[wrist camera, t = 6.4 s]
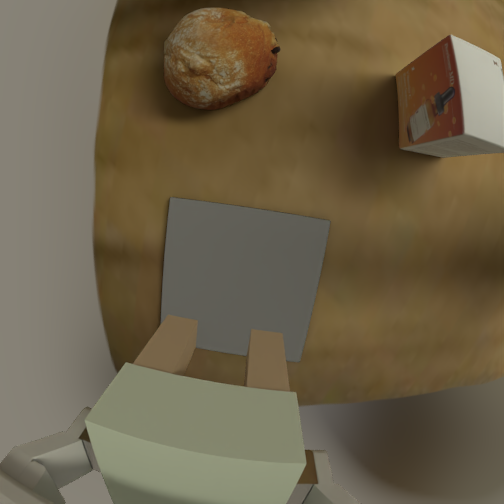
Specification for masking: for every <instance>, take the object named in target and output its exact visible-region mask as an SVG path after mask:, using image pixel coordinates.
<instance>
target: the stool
mask: <svg viewBox="0 0 504 504" xmlns="http://www.w3.org/2000/svg"><path fill="white" fill-rule="evenodd" d="M197 325H198V320H194V319H188V318H183V317H178V316H173V315H167V317H166V318H165V320H164V321H163V322H162V324H161V325H160V326H159V328H158V329H157V331H156V332H155V333H154V335H153V336H152V337H151V339H150V340H149V342H148V343H147V344H146V346H145V347H144V349H143V350H142V351H141V353H140V354H139V356H138V357H137V358H136V360H135V361H134V363H133V364H130V363H127V362H126V363H125V364H124V366H123V367H122V368H121V370H120V371H119V372H118V374H117V375H116V377H115V378H114V379H113V381H112V382H111V383H110V385H109V386H108V387H107V389H106V390H105V392H104V393H103V394H102V396H101V397H100V399H99V400H98V401H97V403H96V404H95V405H94V407H93V408H92V410H91V411H90V412H89V414H88V415H87V417H86V418H85V419H84V420H85V424H86V427H87V431H88V434H89V438H90V441H91V444H92V447H93V451H94V454H95V457H96V460H97V462H98V465H99V468H100V471H101V473H102V476H103V479H104V481H105V484H106V486H107V489H108V491H109V494H110V496H111V499H112V501H113V503H114V504H286V503H287V501H288V499H289V497H290V496H291V494H292V492H293V490H294V488H295V486H296V484H297V482H298V480H299V478H300V476H301V474H302V472H303V470H304V468H305V466H306V464H307V463H306V456H305V449H304V442H303V435H302V428H301V421H300V414H299V408H298V401H297V394H296V392H290V387H289V380H288V372H287V364H286V356H285V349H284V341H283V334H282V333H277V332H270V331H262V330H255V329H251V334H250V340H249V345H248V351H247V359H246V370H245V380H244V387H243V386H236V385H230V384H223V383H217V382H211V381H206V380H200V379H195V378H190V377H185V376H184V374H185V372H186V369H187V367H188V364H189V362H190V359H191V357H192V355H193V352H194V350H195V347H196V337H197Z"/></svg>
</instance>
